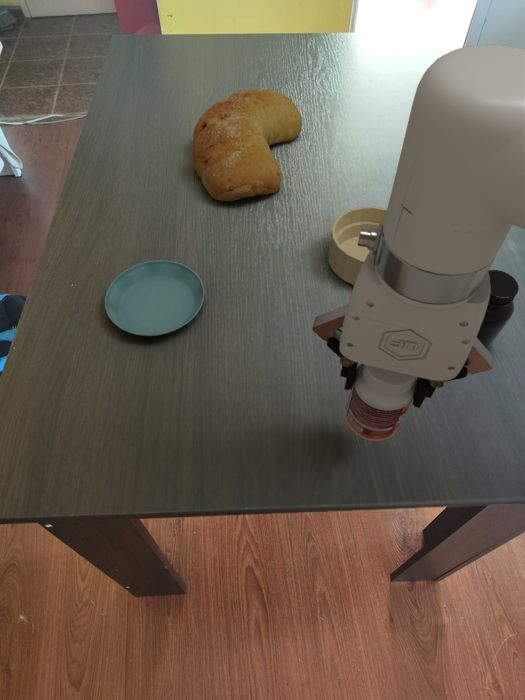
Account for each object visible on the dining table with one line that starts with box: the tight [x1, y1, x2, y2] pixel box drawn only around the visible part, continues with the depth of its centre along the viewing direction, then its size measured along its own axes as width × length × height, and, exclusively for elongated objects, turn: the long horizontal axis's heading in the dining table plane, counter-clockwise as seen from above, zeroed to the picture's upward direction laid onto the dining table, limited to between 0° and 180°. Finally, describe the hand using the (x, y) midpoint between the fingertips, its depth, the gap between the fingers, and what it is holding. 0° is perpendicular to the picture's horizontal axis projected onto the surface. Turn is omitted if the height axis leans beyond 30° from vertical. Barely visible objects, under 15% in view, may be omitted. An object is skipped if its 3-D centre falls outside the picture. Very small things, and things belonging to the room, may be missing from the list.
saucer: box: [104, 259, 206, 337], centre depth 70 cm, size 15×15×3 cm
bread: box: [191, 88, 303, 202], centre depth 89 cm, size 32×20×10 cm, turn 165°
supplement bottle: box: [477, 269, 520, 350], centre depth 63 cm, size 7×7×12 cm
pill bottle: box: [345, 363, 417, 442], centre depth 48 cm, size 6×6×11 cm
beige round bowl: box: [327, 205, 387, 286], centre depth 74 cm, size 13×13×6 cm
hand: (383, 385), depth 47 cm, fingers closed on pill bottle, 6 cm apart
